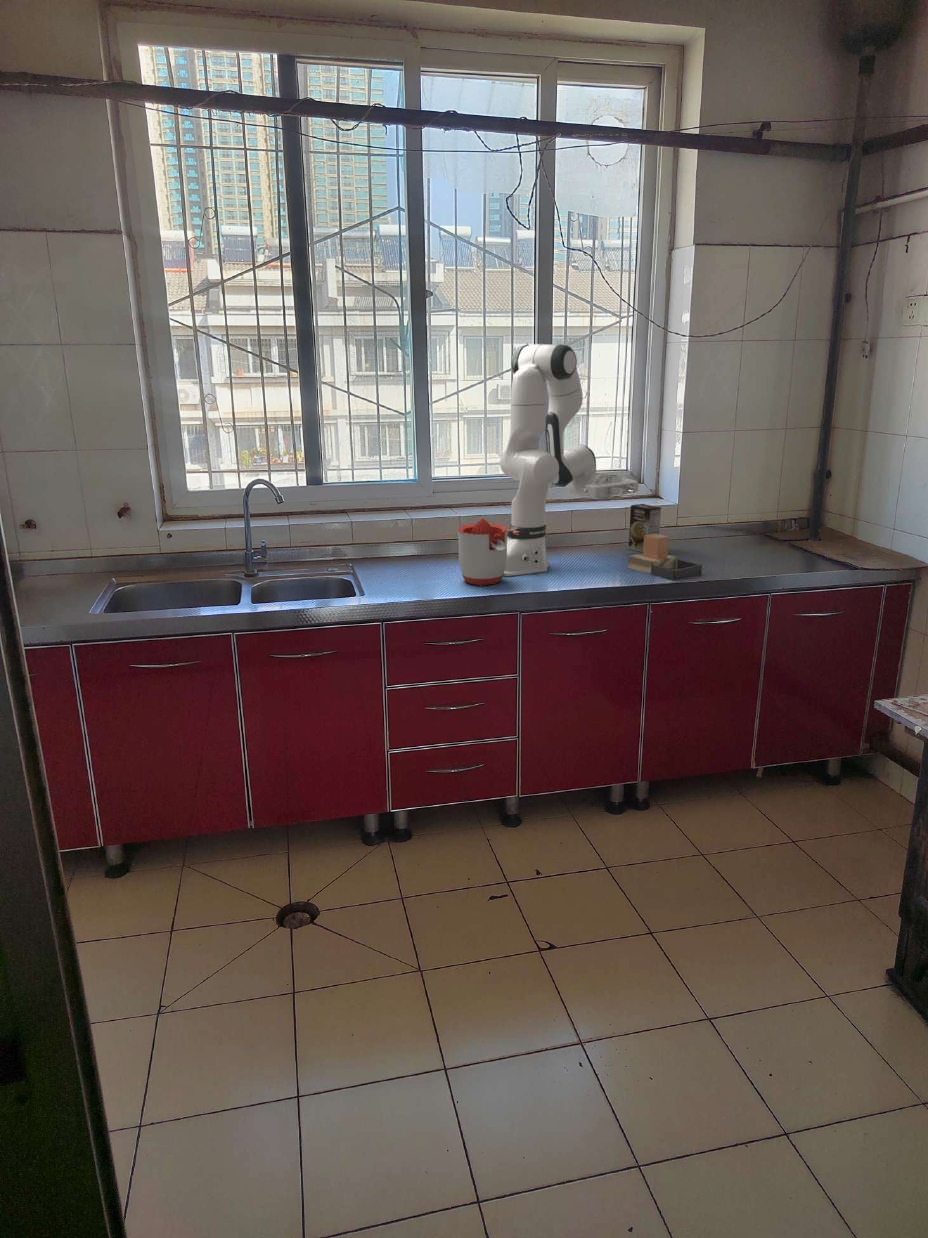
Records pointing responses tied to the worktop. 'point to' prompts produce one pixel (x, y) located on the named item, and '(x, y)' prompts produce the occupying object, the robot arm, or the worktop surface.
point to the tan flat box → (650, 562)
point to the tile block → (655, 546)
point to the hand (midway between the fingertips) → (628, 491)
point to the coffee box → (643, 524)
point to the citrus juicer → (482, 552)
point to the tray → (677, 570)
